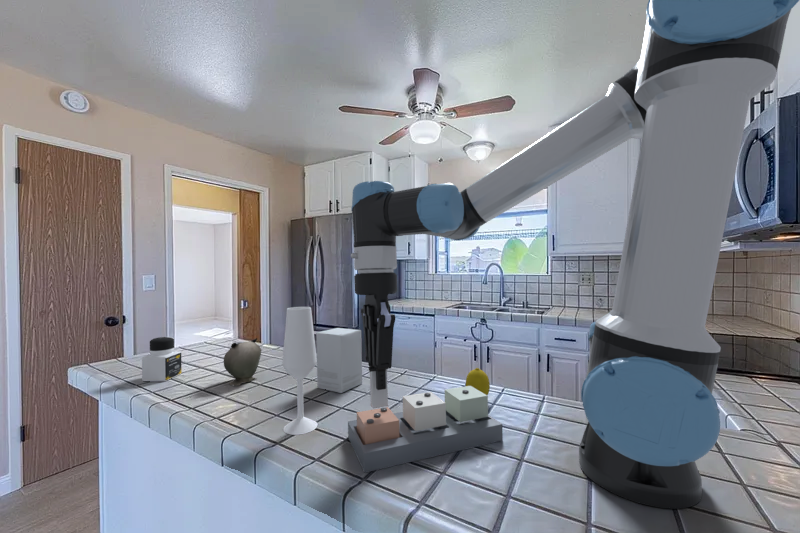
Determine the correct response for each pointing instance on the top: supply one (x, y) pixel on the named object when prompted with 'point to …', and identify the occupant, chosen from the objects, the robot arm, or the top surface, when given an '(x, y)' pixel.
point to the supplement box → (339, 359)
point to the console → (424, 441)
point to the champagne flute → (299, 361)
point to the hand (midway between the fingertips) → (379, 405)
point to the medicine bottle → (161, 360)
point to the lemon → (478, 380)
